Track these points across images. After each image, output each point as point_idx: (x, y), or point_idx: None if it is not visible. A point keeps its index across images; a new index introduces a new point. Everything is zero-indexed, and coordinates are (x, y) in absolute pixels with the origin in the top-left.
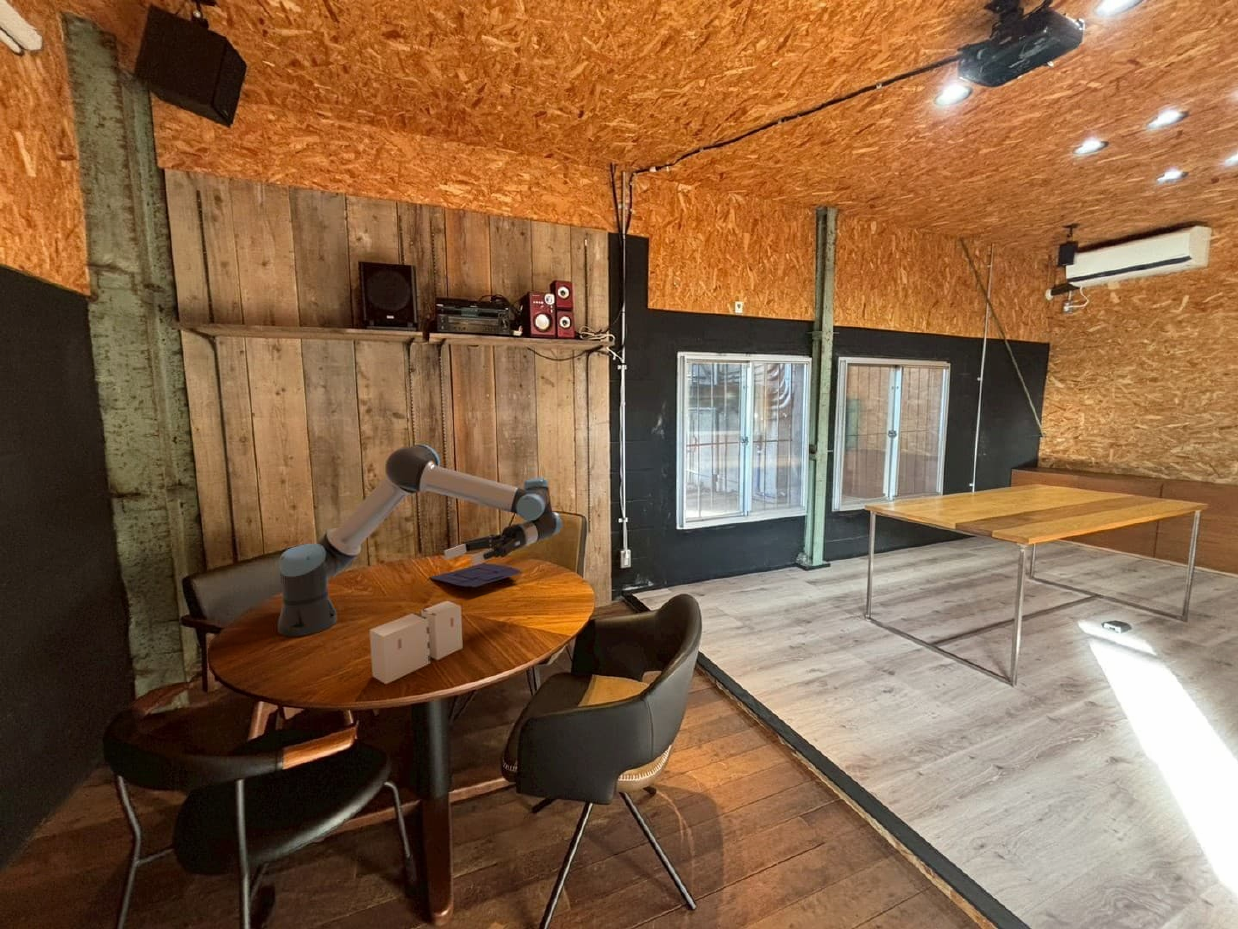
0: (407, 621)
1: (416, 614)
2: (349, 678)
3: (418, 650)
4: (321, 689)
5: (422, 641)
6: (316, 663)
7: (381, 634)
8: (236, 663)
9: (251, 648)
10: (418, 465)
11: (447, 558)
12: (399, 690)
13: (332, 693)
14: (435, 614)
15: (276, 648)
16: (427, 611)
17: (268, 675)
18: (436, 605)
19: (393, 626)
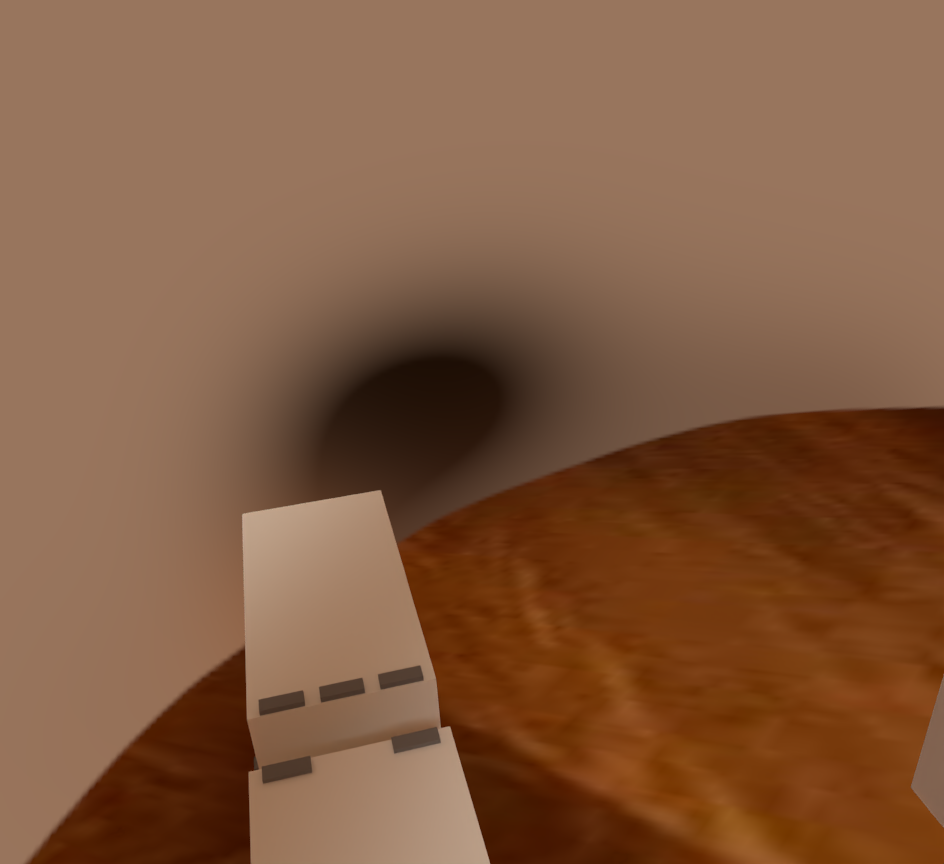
0: (323, 620)
1: (377, 674)
2: (459, 629)
3: None
4: (445, 561)
5: None
6: (683, 567)
7: (271, 512)
8: (818, 432)
9: (939, 453)
10: None
11: (924, 773)
12: (181, 746)
13: None
14: (264, 777)
15: (908, 495)
16: (390, 755)
17: (668, 477)
18: (470, 854)
19: (320, 560)
